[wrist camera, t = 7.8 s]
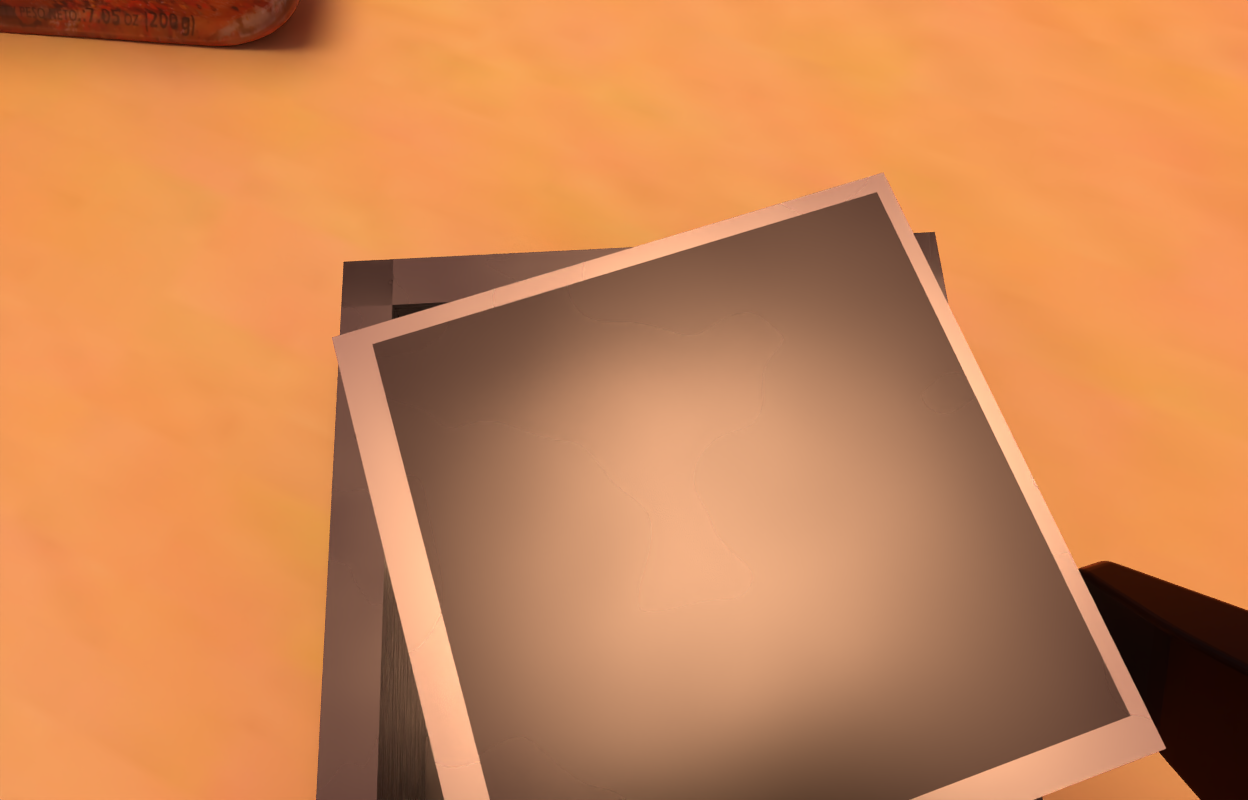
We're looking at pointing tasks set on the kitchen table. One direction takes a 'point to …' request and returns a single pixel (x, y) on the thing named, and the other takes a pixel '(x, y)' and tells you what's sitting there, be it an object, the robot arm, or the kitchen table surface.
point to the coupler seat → (357, 569)
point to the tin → (149, 19)
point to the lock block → (729, 531)
